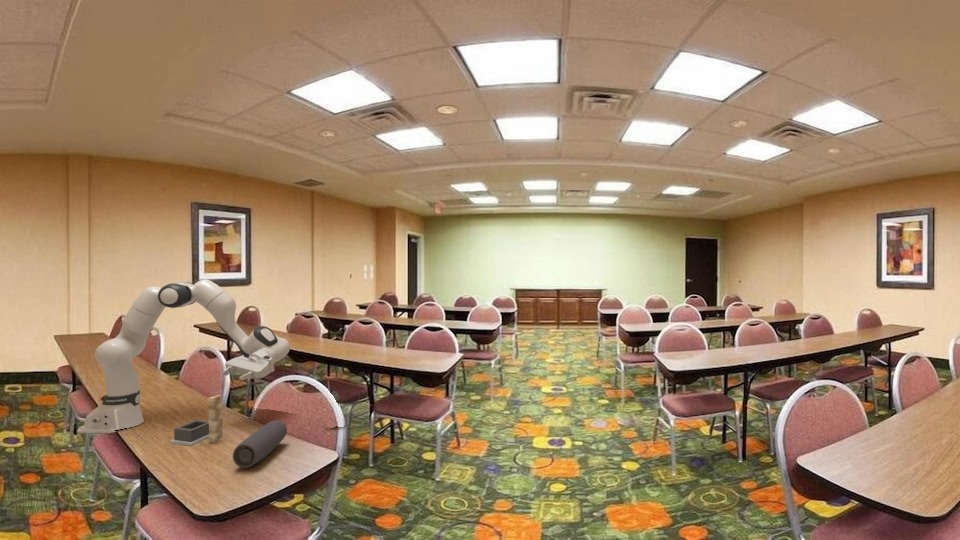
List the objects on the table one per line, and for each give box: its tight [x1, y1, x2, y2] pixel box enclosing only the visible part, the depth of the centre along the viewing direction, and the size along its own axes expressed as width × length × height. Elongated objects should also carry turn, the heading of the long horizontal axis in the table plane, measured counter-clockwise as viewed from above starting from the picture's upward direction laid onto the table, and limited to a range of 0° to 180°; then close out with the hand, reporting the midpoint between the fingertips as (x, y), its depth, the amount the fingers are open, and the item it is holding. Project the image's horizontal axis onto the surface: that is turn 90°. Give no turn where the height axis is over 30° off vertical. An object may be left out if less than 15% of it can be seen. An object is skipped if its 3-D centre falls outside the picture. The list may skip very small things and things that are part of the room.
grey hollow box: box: [169, 419, 209, 447], centre depth 180 cm, size 12×10×6 cm
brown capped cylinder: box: [327, 380, 341, 406], centre depth 191 cm, size 7×7×20 cm
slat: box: [207, 394, 224, 445], centre depth 177 cm, size 4×2×18 cm, turn 165°
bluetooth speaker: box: [232, 419, 288, 469], centre depth 163 cm, size 23×9×10 cm, turn 178°
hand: (232, 376), depth 186 cm, fingers open, 8 cm apart
